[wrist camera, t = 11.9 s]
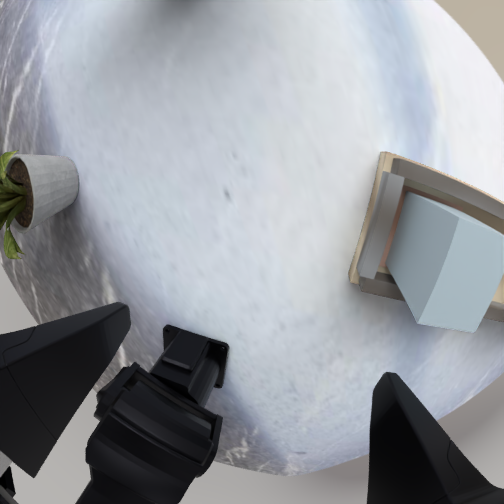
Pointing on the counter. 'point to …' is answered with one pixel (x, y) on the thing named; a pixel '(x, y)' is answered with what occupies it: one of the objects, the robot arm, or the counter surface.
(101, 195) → the counter surface
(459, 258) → the block
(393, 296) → the rail plate
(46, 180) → the house plant
